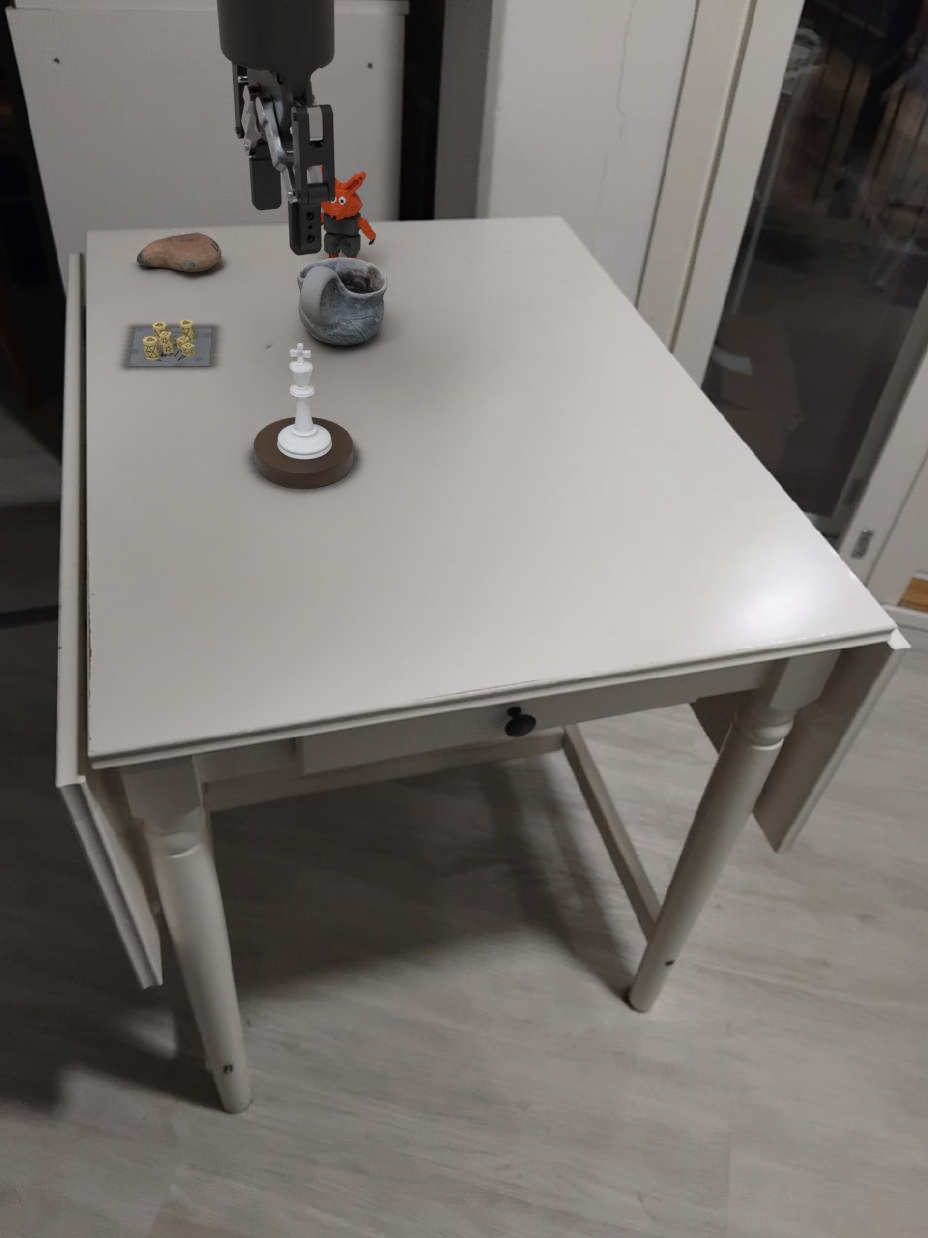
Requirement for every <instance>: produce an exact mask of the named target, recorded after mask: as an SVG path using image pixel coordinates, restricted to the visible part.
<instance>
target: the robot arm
mask: <svg viewBox="0 0 928 1238" xmlns="http://www.w3.org/2000/svg"><path fill="white" fill-rule="evenodd" d="M216 8H217V21H218V33H219V34H218V35H219V36H218V37H219V46H220V47H219V48H220V51H221V53H222V55H223V56H224V57H225V58H226V59H227V60H228V61H230V63H231V66H232V67H231V69H232V86H233V88H232V89H233V106H234V124H235V126H234V132H235V134H236V136H237V138H238V139H239V140H243V143H242V147H243V151H244V153H245V155H246V157H248V167H249V182H250V195H251V204H252V206H254V208H255V209H256V210H258V211H268V210H269V211H270V210H277V209H279V208H280V207H281V206H282V203H283V201H282V197H283V196H282V195H283V194H282V178H283V183H284V188H285V191H286V197H287V216H288V218H287V219H288V239H289V249H290V250H291V251H292V253H293V254H294V255H296V256H306V255H314V254H315V255H316V254H318V253H320V252H321V251H322V246H323V245H322V244H323V241H322V240H323V239H322V234H323V233H322V226H321V213H322V208H321V202H328V201H334V200H335V194H336V191H335V178H336V167H335V166H336V165H335V164H336V163H335V161H336V160H335V128H334V126H335V125H334V111H333V108H332V106H331V104H330V103H327V104H318V103H317V99H316V96H315V94H314V92H313V83H312V81H311V79H312V75H313V74H314V73H315V72H316V71H317V70H318V69H324V68H326V67H327V66H329V65H330V64H331V63H332V62H333V60H334V58H335V53H336V51H335V50H336V49H335V48H336V47H335V46H336V45H335V43H336V42H335V41H336V40H335V39H336V38H335V35H336V34H335V33H336V32H335V0H216ZM320 166H322V172H321V168H320ZM308 173H309V178H310V182H309V181H308ZM281 174H282V175H281ZM281 176H282V177H281Z"/></svg>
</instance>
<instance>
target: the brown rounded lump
mask: <svg viewBox="0 0 928 1238" xmlns="http://www.w3.org/2000/svg"><path fill="white" fill-rule="evenodd" d="M221 259H222V249H221V247H220V246H219V244H218V242H217V241H216V240H215V239H213V238H212V237H210V236H208V235H207V234H204V233H201V232H197V231H184V232H178V233H175V234H173V235H171V236H168V237H164V238H160V239H156V240H153V241H151V242H150V243H148V244H147V245H146V246H145V247H144V248H142V249H141V250H140V251H139V253H138V255H137V256H136V259H135V261H136V262H137V264H138V265H141V266H145V267H152V268H153V267H154V268H167V269H172V270H176V271H179V272H185V273H186V272H187V273H199V272H205V271H206V270H208V269H211V268H212V267H213V266H215V265H216V264H218V263H219V262H220V261H221Z"/></svg>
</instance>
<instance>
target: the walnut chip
mask: <svg viewBox="0 0 928 1238" xmlns="http://www.w3.org/2000/svg"><path fill="white" fill-rule="evenodd" d="M295 417H296V416H292V417H286V418H282V419H278V420H275V421H273V422H271V423H269V424H267V425H266V426H264V427H262V428H261V429H260V431H259V432H258V433H257V434H256V436H255V438H254V441H253V453H254V463H255V467H256V469H257V470H258V472H259V473H260V474H261V476H263V477H264V478H265V479H266V480H268V481H270V482H272V483H274V484H276V485H279V486H282V487H285V488H290V489H304V490H305V489H317V488H322V487H326V486H329V485H332V484H335V483H336V482H338V481H340V480H342V479H343V478H344V477H345V476H347V474H348V473H349V472H350V471H351V469H352V467H353V465H354V441H353V438H352V436H351V434H350V433H349V432H348V431H347V430H346V428H344V427H343V426H341V425H340V424H338V423H336V422H334V421H332V420H328V419H325V418H321V417H315V416H311V417H312V422H313V424H316V425H319V426H321V427H323V428H325V429H326V430H327V431H328V432H329V434H330V436H331V441H332V446H331V449H330V450H329V451H328V452H327V453H326V454H324V455H323V456H320V457H318V458H314V459H295V458H291V457H289V456H287V455H285V454H283V453H282V452H281V451H280V450H279V448H278V445H277V442H278V435H279V433H280V432H281V431H282V430H283V429H284V428H286V427H287V426H290V425H293V424H295Z"/></svg>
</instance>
